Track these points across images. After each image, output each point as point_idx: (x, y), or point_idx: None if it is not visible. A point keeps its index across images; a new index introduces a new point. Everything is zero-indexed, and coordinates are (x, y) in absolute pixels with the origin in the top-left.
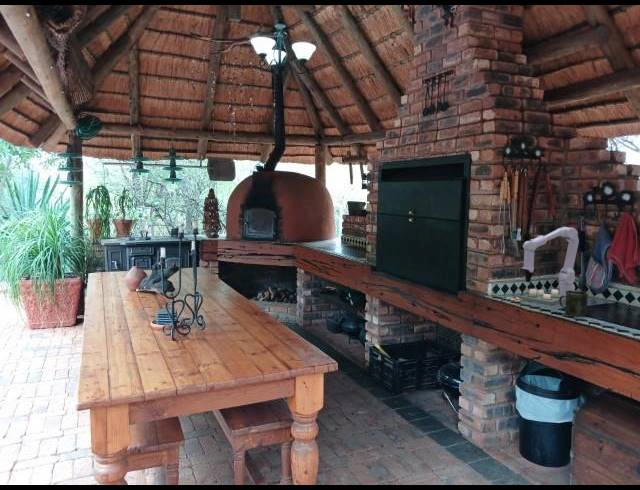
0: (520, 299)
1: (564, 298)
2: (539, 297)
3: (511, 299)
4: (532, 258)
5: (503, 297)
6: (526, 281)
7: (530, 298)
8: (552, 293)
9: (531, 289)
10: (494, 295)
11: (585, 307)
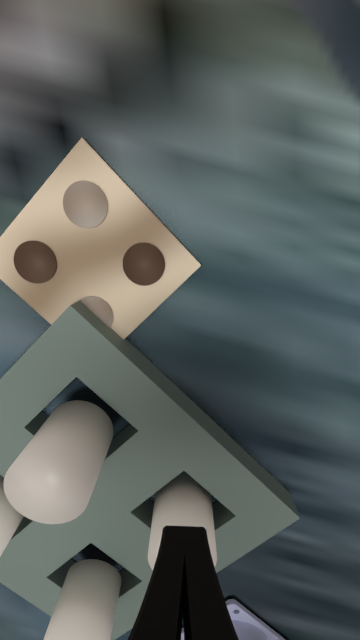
0: (52, 302)
1: None
2: None
3: (29, 204)
4: None
5: (171, 146)
6: (163, 536)
7: None
8: (63, 603)
9: (36, 472)
10: (288, 47)
11: None
